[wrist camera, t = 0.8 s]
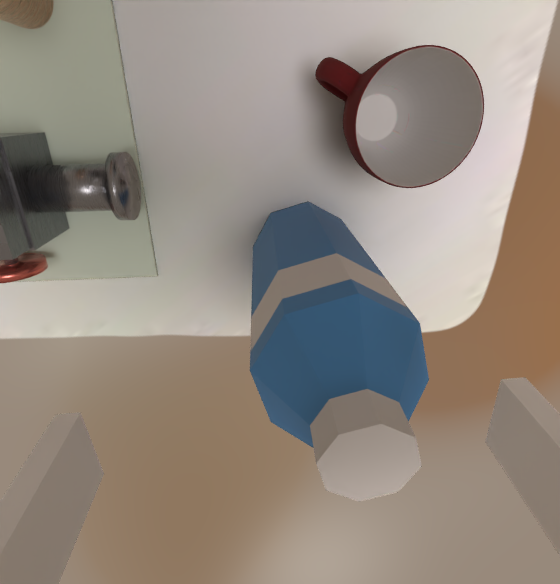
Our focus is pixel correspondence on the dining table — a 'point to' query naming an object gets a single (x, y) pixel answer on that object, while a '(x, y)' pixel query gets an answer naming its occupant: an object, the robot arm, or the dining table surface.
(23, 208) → the metal mallet head
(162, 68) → the dining table surface
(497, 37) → the dining table surface
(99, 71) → the mat
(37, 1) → the brown mallet handle
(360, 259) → the water bottle
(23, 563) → the robot arm
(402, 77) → the mug
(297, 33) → the dining table surface
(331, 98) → the dining table surface
